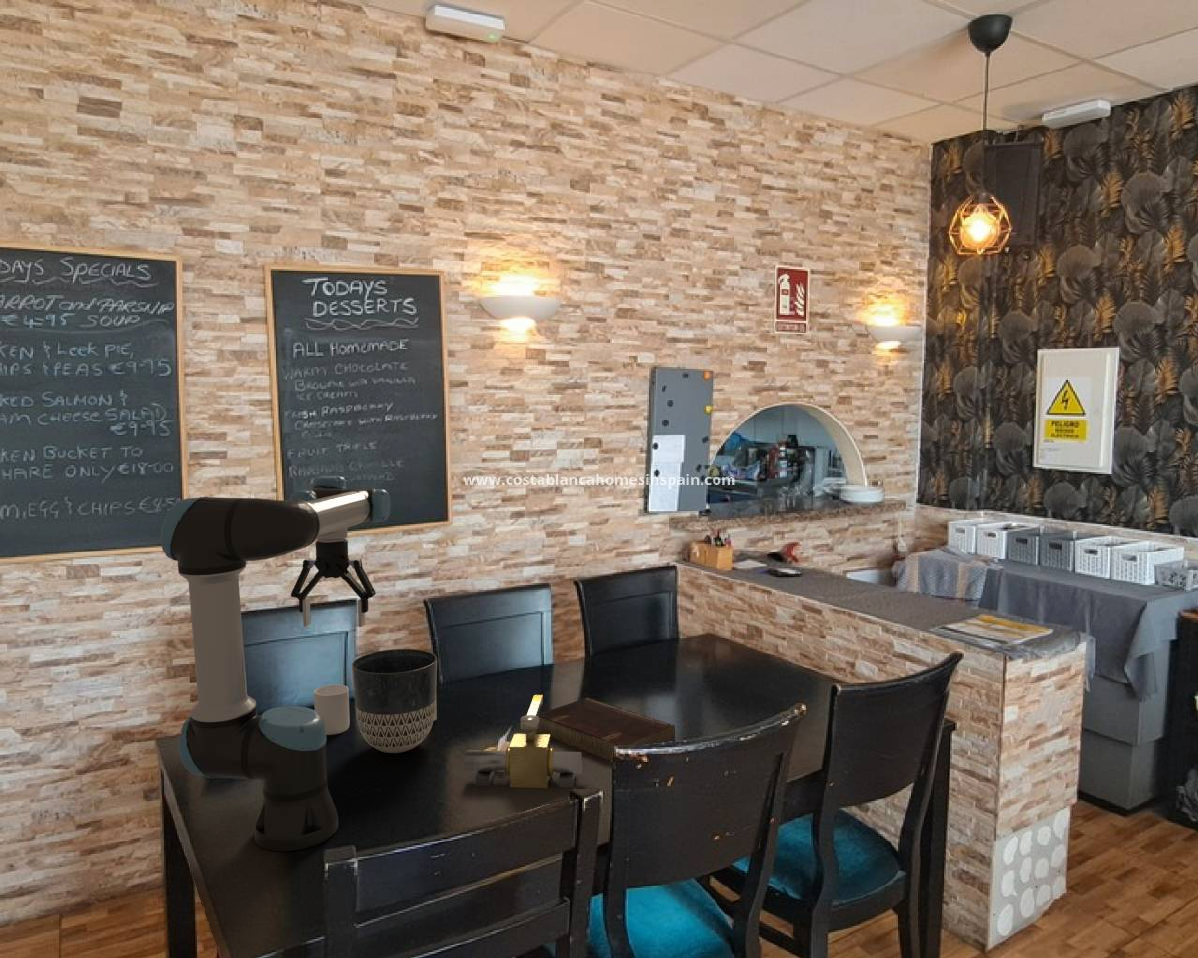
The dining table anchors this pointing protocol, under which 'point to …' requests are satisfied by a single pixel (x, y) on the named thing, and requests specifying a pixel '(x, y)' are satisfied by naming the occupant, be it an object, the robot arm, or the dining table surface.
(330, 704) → the cup
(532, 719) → the lever
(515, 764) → the valve
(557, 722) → the hardback book
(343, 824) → the dining table surface
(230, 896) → the dining table surface
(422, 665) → the planter
